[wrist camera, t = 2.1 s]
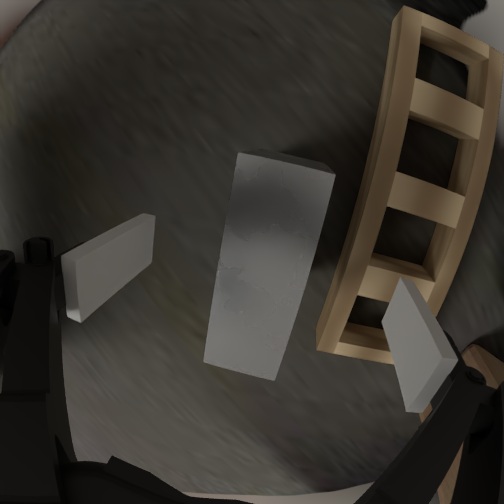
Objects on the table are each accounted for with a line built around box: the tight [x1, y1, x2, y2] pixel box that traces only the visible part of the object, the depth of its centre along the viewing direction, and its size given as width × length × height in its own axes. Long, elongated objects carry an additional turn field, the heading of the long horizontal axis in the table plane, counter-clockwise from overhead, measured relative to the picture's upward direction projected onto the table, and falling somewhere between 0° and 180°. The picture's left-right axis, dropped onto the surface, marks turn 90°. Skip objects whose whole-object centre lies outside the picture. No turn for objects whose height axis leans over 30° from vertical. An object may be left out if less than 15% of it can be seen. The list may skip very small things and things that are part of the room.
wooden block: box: [419, 344, 504, 504], centre depth 18 cm, size 10×10×20 cm
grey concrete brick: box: [203, 149, 336, 381], centre depth 20 cm, size 4×11×12 cm, turn 169°
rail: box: [316, 6, 503, 364], centre depth 21 cm, size 9×28×4 cm, turn 169°
